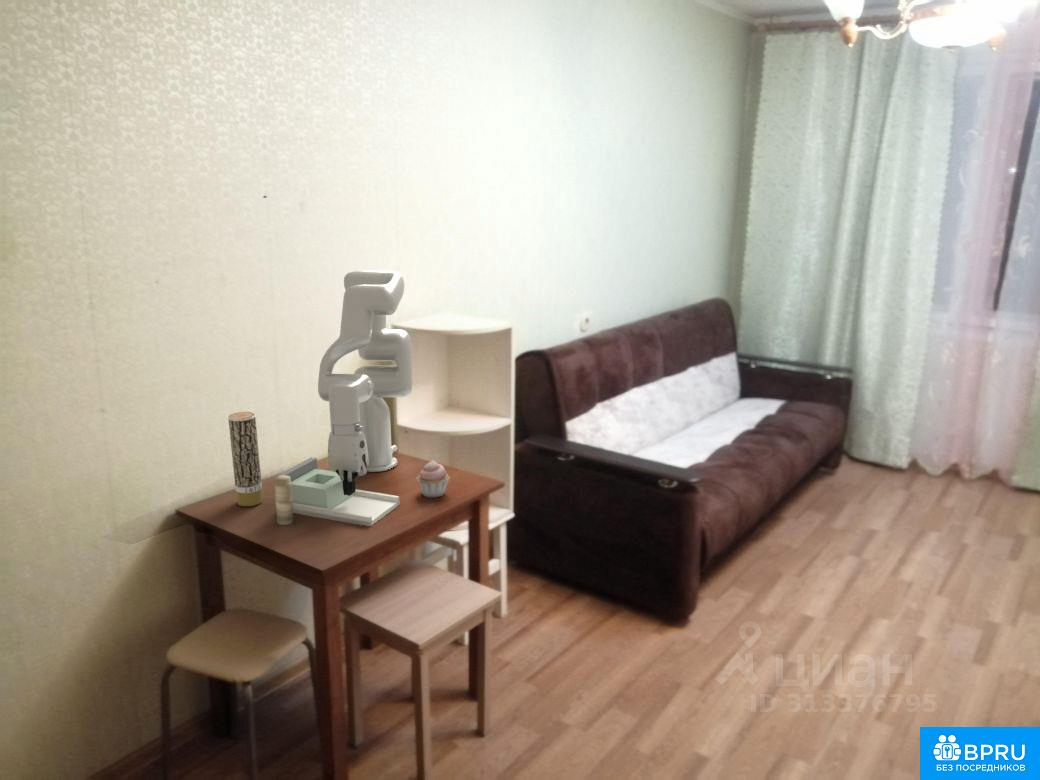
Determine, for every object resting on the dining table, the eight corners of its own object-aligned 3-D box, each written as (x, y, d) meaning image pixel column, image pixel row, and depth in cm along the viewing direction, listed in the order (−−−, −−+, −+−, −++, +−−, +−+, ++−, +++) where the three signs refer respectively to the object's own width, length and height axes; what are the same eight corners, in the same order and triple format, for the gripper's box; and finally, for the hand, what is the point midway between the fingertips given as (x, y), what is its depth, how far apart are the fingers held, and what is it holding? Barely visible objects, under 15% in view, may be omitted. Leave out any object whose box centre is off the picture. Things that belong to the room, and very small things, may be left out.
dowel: (284, 517, 205) (281, 474, 202) (296, 520, 204) (293, 476, 201) (273, 523, 202) (270, 479, 199) (286, 526, 200) (283, 481, 197)
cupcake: (450, 487, 226) (449, 454, 224) (450, 499, 217) (449, 465, 215) (417, 487, 226) (416, 455, 223) (416, 500, 217) (414, 466, 214)
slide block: (316, 488, 221) (314, 468, 219) (352, 494, 217) (351, 474, 215) (289, 504, 210) (287, 483, 209) (327, 511, 206) (325, 489, 204)
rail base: (313, 490, 223) (310, 457, 221) (399, 504, 214) (398, 470, 211) (279, 510, 210) (276, 475, 207) (370, 526, 200) (368, 490, 198)
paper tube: (231, 504, 214) (222, 417, 207) (249, 496, 219) (241, 410, 213) (250, 509, 211) (241, 420, 204) (268, 500, 217) (260, 413, 210)
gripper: (378, 427, 205) (381, 492, 210) (330, 420, 211) (334, 484, 215) (362, 435, 199) (365, 502, 203) (313, 428, 204) (317, 494, 209)
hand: (349, 493), depth 209 cm, fingers closed
